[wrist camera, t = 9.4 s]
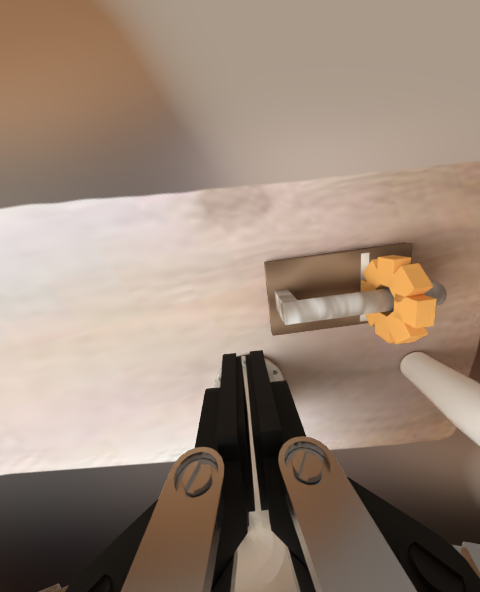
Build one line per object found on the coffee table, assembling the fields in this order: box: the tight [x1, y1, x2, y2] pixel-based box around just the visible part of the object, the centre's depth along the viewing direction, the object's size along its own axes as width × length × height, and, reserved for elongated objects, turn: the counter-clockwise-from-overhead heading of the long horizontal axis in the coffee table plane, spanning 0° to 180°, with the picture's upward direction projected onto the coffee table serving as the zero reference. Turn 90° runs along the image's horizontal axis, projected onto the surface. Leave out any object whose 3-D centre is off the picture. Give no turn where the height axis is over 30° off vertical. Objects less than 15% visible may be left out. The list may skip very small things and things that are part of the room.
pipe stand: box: [264, 243, 446, 336], centre depth 32 cm, size 12×22×9 cm, turn 98°
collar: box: [361, 255, 437, 344], centre depth 29 cm, size 11×2×11 cm, turn 8°
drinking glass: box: [400, 352, 480, 446], centre depth 34 cm, size 7×7×15 cm
